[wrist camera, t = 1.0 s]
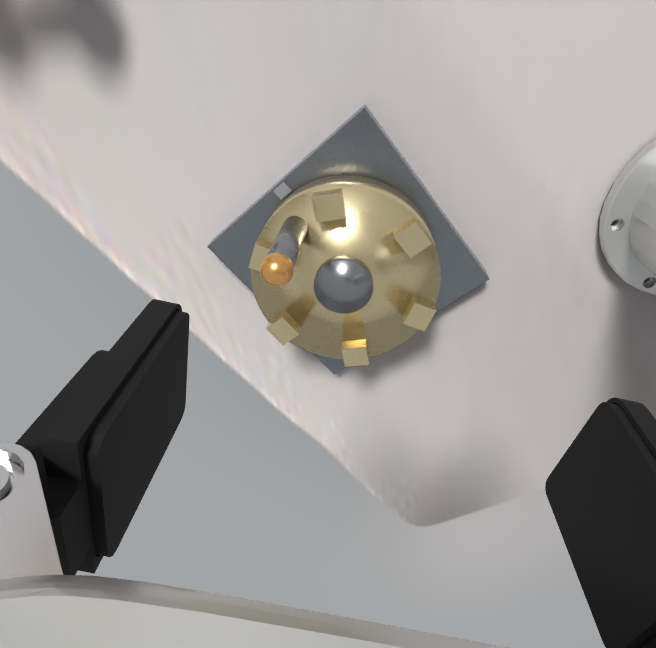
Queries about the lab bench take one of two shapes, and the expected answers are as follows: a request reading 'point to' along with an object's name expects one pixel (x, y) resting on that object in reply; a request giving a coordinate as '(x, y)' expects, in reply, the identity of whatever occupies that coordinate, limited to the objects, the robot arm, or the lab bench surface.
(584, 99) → the lab bench surface
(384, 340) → the brass dial with handle
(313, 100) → the lab bench surface
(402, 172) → the base plate
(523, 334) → the lab bench surface
